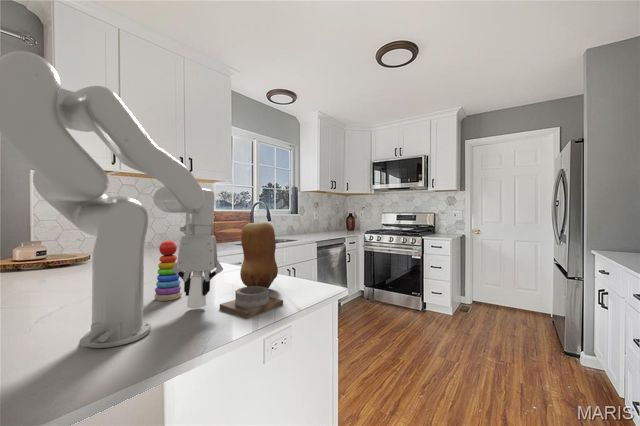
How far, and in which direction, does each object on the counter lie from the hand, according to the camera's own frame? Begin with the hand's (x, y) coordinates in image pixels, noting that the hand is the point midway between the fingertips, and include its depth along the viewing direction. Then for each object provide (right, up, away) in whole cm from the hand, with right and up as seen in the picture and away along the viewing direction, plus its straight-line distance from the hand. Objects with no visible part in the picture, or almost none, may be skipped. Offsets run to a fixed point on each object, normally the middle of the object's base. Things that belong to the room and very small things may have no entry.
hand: (196, 293), depth 83 cm
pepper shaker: (0, -3, 0) cm, 4 cm away
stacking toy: (-14, -5, +11) cm, 18 cm away
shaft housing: (+15, -5, +3) cm, 16 cm away
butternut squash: (+14, -5, +20) cm, 25 cm away
